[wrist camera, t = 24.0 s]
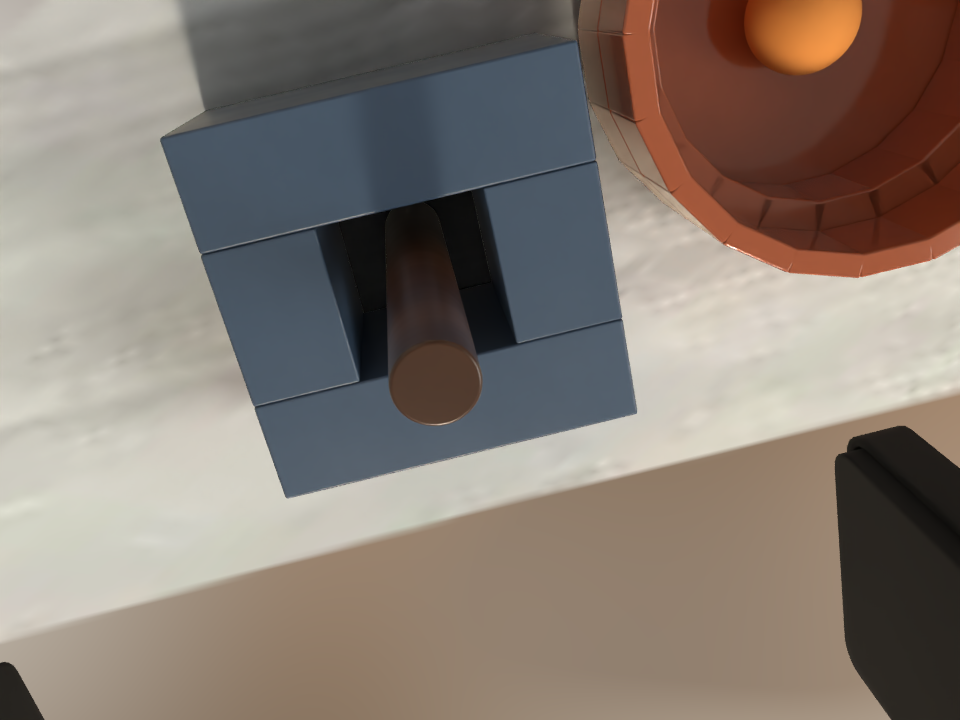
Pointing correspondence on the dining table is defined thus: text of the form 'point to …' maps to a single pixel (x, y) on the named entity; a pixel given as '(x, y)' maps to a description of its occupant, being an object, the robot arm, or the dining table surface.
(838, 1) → the ball
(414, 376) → the stick
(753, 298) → the dining table surface
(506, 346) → the holder
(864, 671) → the robot arm
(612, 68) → the bowl
